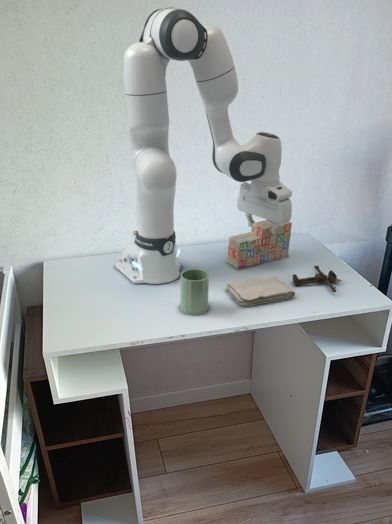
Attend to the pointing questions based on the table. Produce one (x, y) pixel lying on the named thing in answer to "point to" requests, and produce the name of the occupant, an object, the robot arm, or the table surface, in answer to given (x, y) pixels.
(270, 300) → the washcloth
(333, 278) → the brown toy monkey
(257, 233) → the stack of blocks
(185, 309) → the pencil cup
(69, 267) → the table surface
